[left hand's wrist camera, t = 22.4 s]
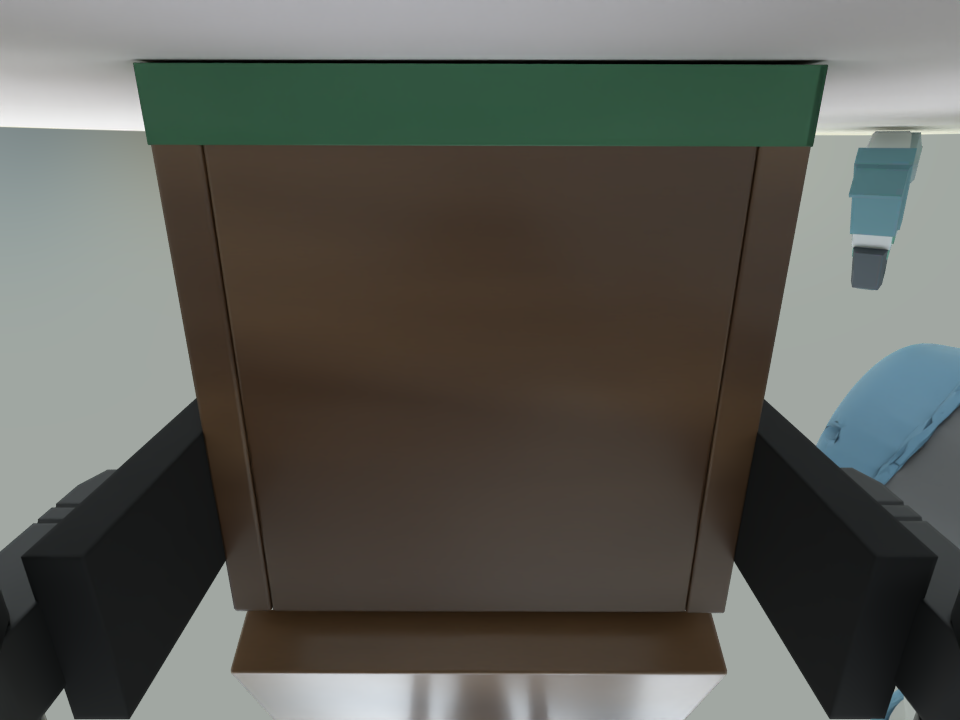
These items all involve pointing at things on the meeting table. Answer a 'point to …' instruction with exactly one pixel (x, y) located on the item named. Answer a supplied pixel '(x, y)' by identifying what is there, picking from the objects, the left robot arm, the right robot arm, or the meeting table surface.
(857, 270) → the toy gun
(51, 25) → the meeting table surface
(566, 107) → the chest
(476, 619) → the lid
